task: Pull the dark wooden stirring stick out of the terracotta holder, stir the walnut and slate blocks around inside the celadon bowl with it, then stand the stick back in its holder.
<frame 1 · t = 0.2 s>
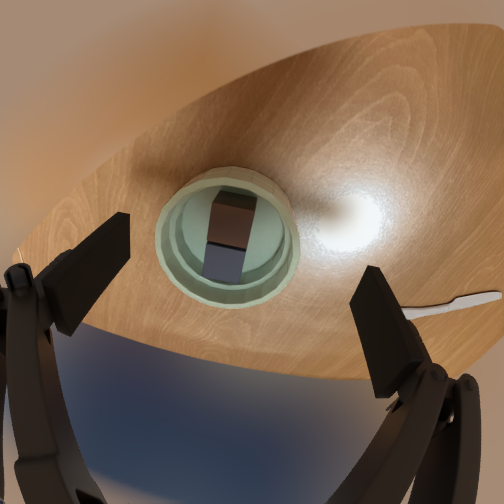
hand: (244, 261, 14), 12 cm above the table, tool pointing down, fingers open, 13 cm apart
butter knife: (450, 304, 30), on the table
block b: (228, 246, 27), point 1 cm above the table, touching bowl
block a: (235, 211, 25), point 1 cm above the table, touching bowl
bowl: (232, 226, 27), on the table
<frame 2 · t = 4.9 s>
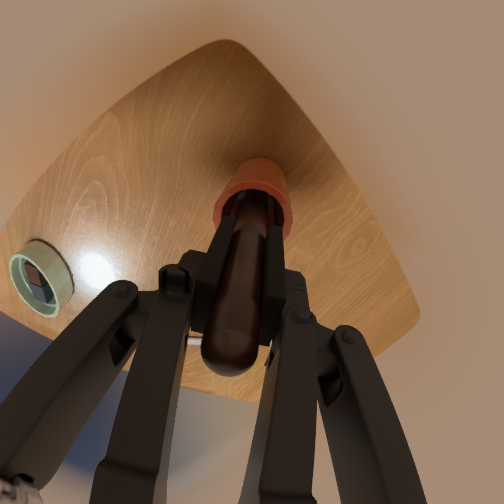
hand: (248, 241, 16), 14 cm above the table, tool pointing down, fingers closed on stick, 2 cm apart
stick: (258, 184, 27), point 1 cm above the table, touching gripper
block b: (48, 281, 37), point 1 cm above the table, touching bowl
block a: (44, 263, 35), point 1 cm above the table, touching bowl
bowl: (48, 271, 36), on the table
holder: (259, 183, 28), on the table
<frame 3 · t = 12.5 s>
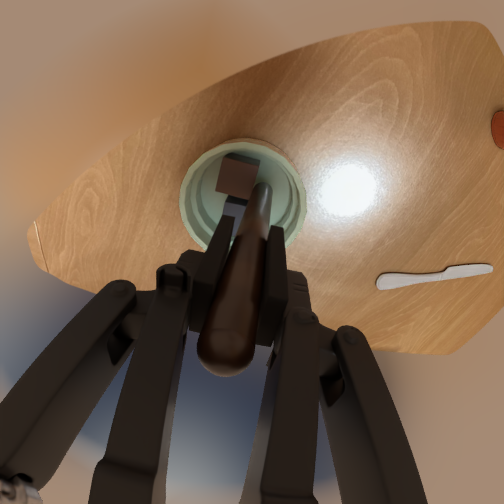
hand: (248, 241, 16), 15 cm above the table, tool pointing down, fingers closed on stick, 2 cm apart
butter knife: (443, 273, 33), on the table
stick: (263, 189, 28), point 2 cm above the table, touching block a, gripper
block b: (242, 209, 30), point 1 cm above the table, touching bowl
block a: (240, 171, 28), point 1 cm above the table, touching bowl, stick
bowl: (245, 191, 30), on the table
holder: (502, 130, 22), on the table
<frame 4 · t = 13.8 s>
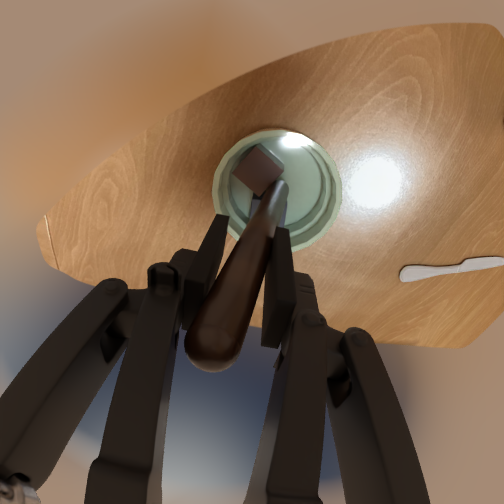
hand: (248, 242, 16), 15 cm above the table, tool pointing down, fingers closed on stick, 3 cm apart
butter knife: (461, 266, 33), on the table
stick: (280, 187, 27), point 2 cm above the table, tilted 8°, touching block a, block b, gripper
block b: (268, 206, 30), point 1 cm above the table, touching bowl, stick
block a: (260, 165, 28), point 1 cm above the table, touching bowl, stick
bowl: (276, 182, 29), on the table
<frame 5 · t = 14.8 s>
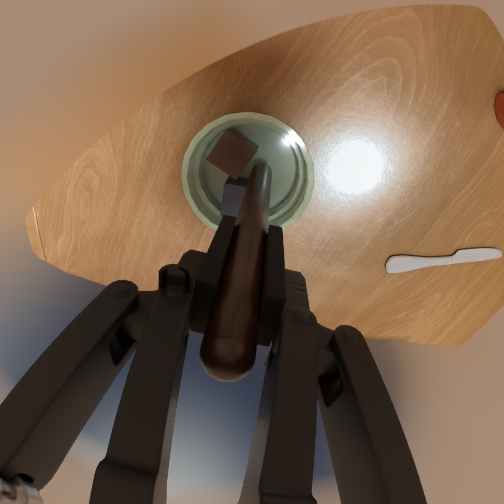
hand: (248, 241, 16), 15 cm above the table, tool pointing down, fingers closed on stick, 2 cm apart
butter knife: (453, 257, 32), on the table
stick: (262, 169, 26), point 2 cm above the table, tilted 6°, touching gripper
block b: (243, 192, 29), point 1 cm above the table, touching bowl
block a: (235, 150, 27), point 1 cm above the table, touching bowl
bowl: (250, 168, 28), on the table
when the fingers open (16 cm above the table, at t = 23.0 s): stick drops 2 cm, resting on holder.
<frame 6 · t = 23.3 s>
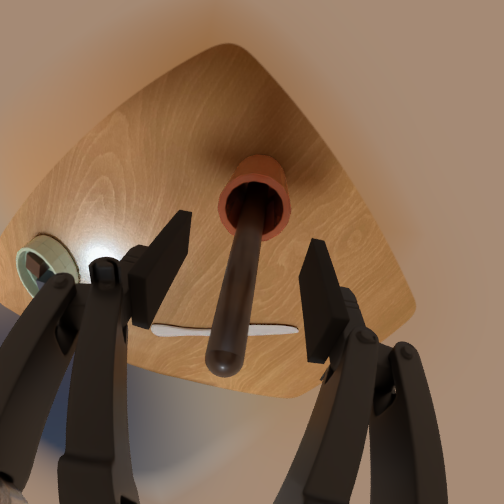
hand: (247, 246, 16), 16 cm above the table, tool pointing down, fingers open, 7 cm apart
butter knife: (220, 330, 41), on the table
stick: (261, 169, 28), point 1 cm above the table, tilted 15°, touching holder
block b: (54, 279, 39), point 1 cm above the table, touching bowl
block a: (44, 255, 37), point 1 cm above the table, touching bowl
bowl: (54, 265, 38), on the table
holder: (259, 178, 30), on the table
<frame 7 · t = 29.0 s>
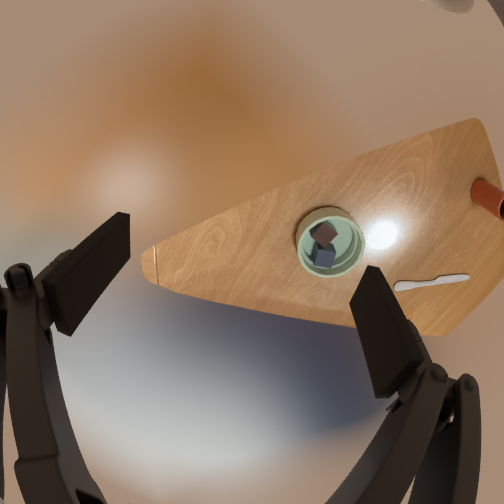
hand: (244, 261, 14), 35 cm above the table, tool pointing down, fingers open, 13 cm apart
butter knife: (435, 281, 54), on the table
stick: (482, 186, 41), point 1 cm above the table, tilted 15°, touching holder
block b: (322, 250, 52), point 1 cm above the table, touching bowl
block a: (321, 227, 49), point 1 cm above the table, touching bowl
bowl: (327, 236, 51), on the table
holder: (478, 191, 42), on the table
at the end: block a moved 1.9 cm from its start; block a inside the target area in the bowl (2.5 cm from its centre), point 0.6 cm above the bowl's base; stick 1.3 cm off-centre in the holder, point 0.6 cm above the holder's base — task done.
